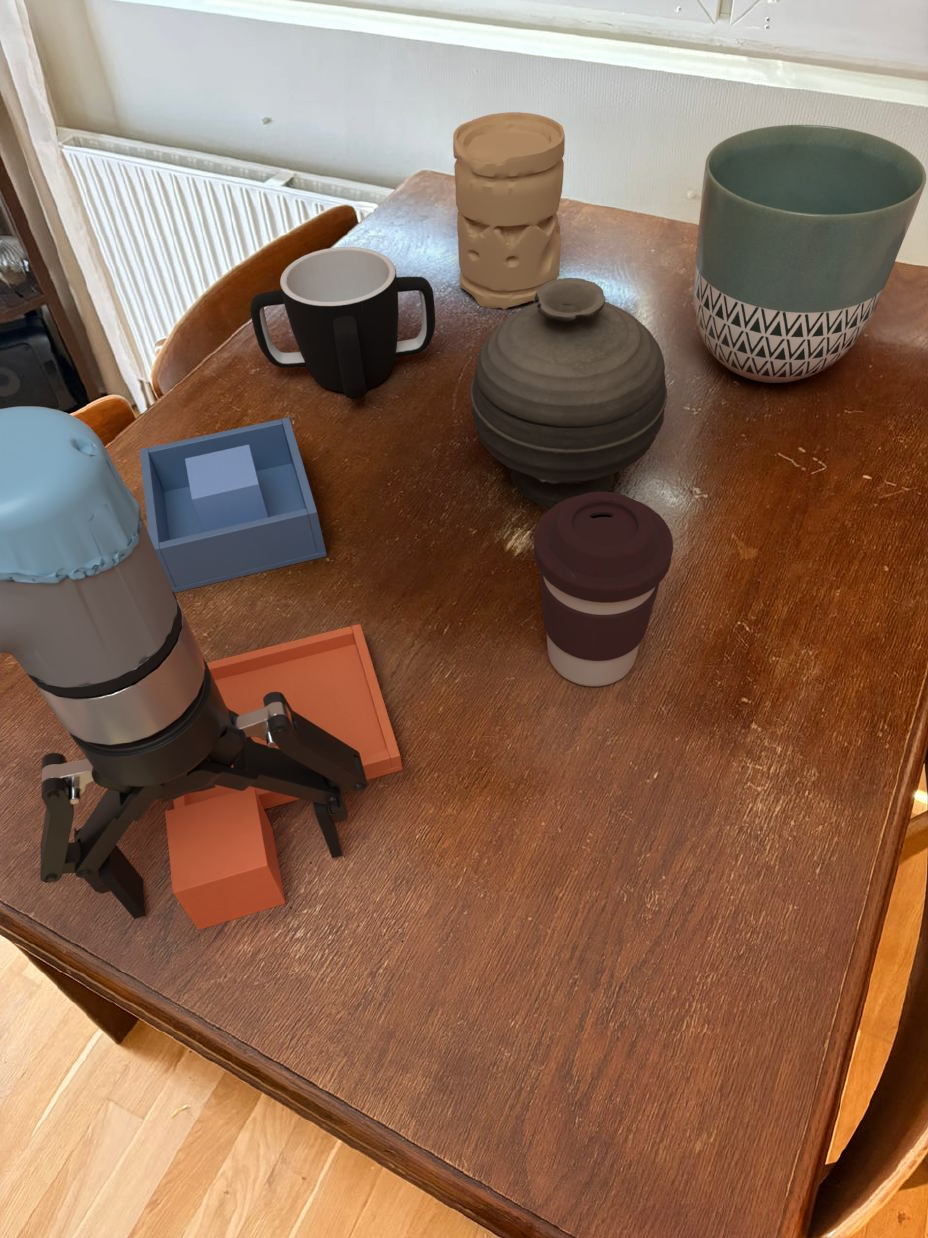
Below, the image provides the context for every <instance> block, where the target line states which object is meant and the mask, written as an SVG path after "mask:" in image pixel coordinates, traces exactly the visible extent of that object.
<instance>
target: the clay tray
mask: <svg viewBox="0 0 928 1238" xmlns="http://www.w3.org/2000/svg"><path fill="white" fill-rule="evenodd" d="M206 663H207V665H208V667H209V669H210V672H211V674H212V676H213V678H214V680H215V683H216V685H217V687H218V689H219V692H220V694H221V696H222V698H223V700H224V703H225V705H226V707H227V708H228V709H230V710H231V711H233V712H235V713H237V714H238V715H239V716H241V715H244V714H246V713H249V712H252V711H255V710H258V709H261V708H263V707H264V702H263V698H264V696H265V695H266V694H268V693H270V692H280V693H282V694H283V695H284V697H285V698H286V700H287V702H288V703H289V705H290V707H291V709H292V710H293V711H294V712H296V713H298V714H299V715H301V716H302V717H304V718H306V719H307V720H309V721H310V722H312V723H314V724H315V725H317V726H318V727H320V728H322V729H323V730H325V731H326V732H328V733H330V734H331V735H333V736H334V737H336V738H338V739H339V740H341V741H342V742H344V743H345V744H347V745H349V746H350V747H352V748H353V749H355V750H357V751H358V752H359V753H360V757H361V761H362V764H363V768H364V772H365V775H366V779H367V781H368V780H372V779H375V778H379V777H383V776H387V775H389V774H393V773H397V772H400V771H403V770H404V769H403V762H402V758H401V754H400V753H401V752H400V750H399V747H398V746H399V745H398V743H397V739H396V737H395V733H394V730H393V727H392V723H391V720H390V716H389V714H388V710H387V707H386V704H385V700H384V697H383V694H382V691H381V687H380V684H379V680H378V678H377V674H376V671H375V668H374V664H373V660H372V657H371V654H370V650H369V647H368V645H367V641H366V637H365V635H364V631H363V628H362V625H361V623H357V624H354V625H351V626H350V625H349V626H345V627H341V628H337V629H334V630H330V631H326V632H322V633H318V634H315V635H310V636H307V637H306V636H305V637H302V638H299V639H295V640H291V641H287V642H283V643H279V644H275V645H271V646H267V647H263V648H259V649H255V650H251V651H247V652H244V653H239V654H236V655H232V656H228V657H224V658H220V659H216V660H211V661H209V662H206ZM251 738H252V740H253V741H254V742H257V743H260V744H264V745H267V742H266V741H264V740H262V739H261V738H259V737H251ZM274 748H278V746H276V747H274ZM278 749H279V748H278ZM231 767H232V768H233V765H232V766H231ZM248 788H251V786H249V787H248ZM255 790H256V792H257V794H258V797H259V799H260V801H261V804H262V806H263V808H264V810H267V809H270V808H274V807H277V806H280V805H285V804H287V803H291V802H295V801H298V800H301V799H300V798H296V797H292V796H288V795H283V794H279V793H275V792H271V791H267V790H263V789H259V788H255ZM237 791H239V790H235V789H231V788H227V787H223V786H218V785H215V788H212V789H208V790H205V791H200V792H193V793H187V794H185V795H183V796H181V797H179V798H176V799H173V800H172V802H173V809H176V808H180V807H183V806H187V805H190V804H194V803H197V802H201V801H205V800H208V799H212V798H215V797H219V796H222V795H226V794H230V793H233V792H237Z"/></svg>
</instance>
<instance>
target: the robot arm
mask: <svg viewBox="0 0 928 1238" xmlns="http://www.w3.org/2000/svg"><path fill="white" fill-rule="evenodd" d="M184 612H185V611H184V610H183V608H182V605H181V604H180V601H179V599H177V596H176V593H174V592H173V590H172V588H171V586H170V584H169V581H168V579H167V577H166V574H165V572H164V569H163V567H162V565H161V562H160V560H159V558H158V555H157V553H156V551H155V548H154V546H153V543H152V541H151V539H150V536H149V534H148V528H147V527H146V525H145V522H144V520H143V517H142V509H141V507H140V505H139V503H138V500H137V499H136V498H135V496H134V493H133V491H132V490H131V489H130V488H129V487H128V486H127V484H125V482H124V479H123V478H122V476H121V474H120V473H119V470H118V469H117V467H116V464H115V463H114V462H113V460H112V457H111V456H110V454H109V453H108V451H107V448H106V447H105V444H104V443H103V441H102V440H101V439H100V436H98V434H97V433H96V432H95V431H94V430H93V429H92V427H90V426H89V425H88V424H87V423H86V422H84V421H83V420H81V419H79V418H77V417H76V416H74V415H72V414H69V413H68V412H64V411H62V410H59V409H54V408H50V407H46V406H44V407H43V406H31V405H30V406H29V405H27V406H25V405H23V406H12V407H11V406H10V407H6V408H5V407H4V408H0V654H1V655H2V654H10V655H11V656H12V657H13V659H14V660H16V662H17V663H18V664H19V665H20V666H21V668H22V669H23V670H24V672H25V673H26V675H27V676H28V677H29V679H30V680H31V681H32V682H33V684H34V685H35V687H36V688H37V690H38V691H39V693H40V694H41V696H42V697H43V699H44V700H45V702H46V703H47V705H48V706H49V707H50V709H51V710H52V712H53V714H54V715H55V717H56V718H57V719H58V721H59V722H60V724H61V725H62V726H63V727H64V729H65V730H66V731H68V734H69V735H70V737H71V738H72V739H73V741H74V743H75V744H76V745H77V746H78V748H79V749H80V751H81V753H83V755H84V757H85V758H84V759H83V758H82V759H78V760H77V759H76V760H74V761H68V759H66V756H65V755H64V754H62V753H59V752H50V753H47V754H45V755H43V756H42V758H41V779H40V780H41V782H40V783H41V784H40V785H41V790H40V791H41V792H40V793H41V795H40V796H41V799H42V801H43V803H44V805H45V806H46V807H45V812H44V819H43V825H42V832H41V839H40V858H39V859H40V861H39V862H40V865H39V866H40V869H39V875H40V876H39V878H40V879H39V880H40V881H41V882H42V883H45V884H52V883H56V882H59V881H60V880H61V879H62V878H63V875H64V874H74V876H75V877H76V878H78V879H84V881H85V882H86V883H87V884H88V885H89V886H90V888H92V889H93V891H94V893H95V892H96V893H99V894H101V895H103V894H106V893H109V892H110V893H111V894H112V895H113V896H114V897H115V898H116V899H117V900H118V901H119V903H120V904H121V905H122V906H123V908H124V909H125V910H126V911H127V912H128V913H129V914H130V915H131V917H132V918H133V919H134V920H136V919H139V918H142V917H145V916H147V913H146V897H145V887H144V886H145V885H144V879H143V877H142V876H141V874H140V873H139V872H138V870H137V869H136V868H135V867H134V865H133V864H132V863H131V861H130V860H129V859H128V858H127V856H126V855H125V854H124V852H123V851H122V850H121V849H120V847H119V846H118V843H119V842H120V840H121V839H122V838H123V836H124V835H125V833H126V832H127V830H128V829H129V828H130V826H131V825H132V823H134V822H139V821H140V820H141V819H142V817H143V816H144V815H145V813H146V812H147V811H148V809H149V808H150V806H151V805H152V803H153V802H154V801H161V802H162V803H166V802H170V801H173V799H176V798H179V797H181V796H183V795H185V794H187V793H193V792H200V791H205V790H208V789H212V788H215V785H218V786H223V787H227V788H231V789H235V790H239V791H244V790H246V789H247V788H248V787H249V786H251V787H255V788H259V789H263V790H267V791H271V792H275V793H279V794H283V795H288V796H292V797H296V798H300V799H299V800H305V801H308V802H312V806H313V810H314V814H315V817H316V820H317V822H318V824H319V827H320V830H321V833H322V835H323V838H324V841H325V843H326V846H327V848H328V851H329V854H330V857H331V859H332V860H333V859H335V858H336V859H337V858H339V857H342V856H344V854H343V849H342V846H341V842H340V841H341V840H340V836H339V833H338V828H337V824H338V823H340V822H344V821H345V822H346V821H347V820H348V817H349V811H348V809H347V803H346V799H345V794H346V793H347V792H348V791H350V792H352V793H359V792H363V791H364V790H365V789H367V788H368V785H369V784H368V783H369V782H368V780H367V779H366V775H365V772H364V768H363V764H362V761H361V757H360V753H359V752H358V751H357V750H355V749H353V748H352V747H350V746H349V745H347V744H345V743H344V742H342V741H341V740H339V739H338V738H336V737H334V736H333V735H331V734H330V733H328V732H326V731H325V730H323V729H322V728H320V727H318V726H317V725H315V724H314V723H312V722H310V721H309V720H307V719H306V718H304V717H302V716H301V715H299V714H298V713H296V712H294V711H293V710H292V709H291V707H290V705H289V703H288V702H287V700H286V698H285V697H284V695H283V694H282V693H280V692H270V693H268V694H266V695H265V696H264V698H263V702H264V707H263V708H261V709H258V710H255V711H252V712H249V713H246V714H244V715H241V716H239V715H238V714H237V713H235V712H233V711H231V710H230V709H228V708H227V707H226V705H225V703H224V700H223V698H222V696H221V694H220V692H219V689H218V687H217V685H216V683H215V680H214V678H213V676H212V674H211V672H210V669H209V667H208V665H207V663H208V662H206V659H205V658H204V655H203V651H202V650H201V649H202V648H201V647H200V645H199V643H198V641H197V638H196V637H195V634H194V631H193V630H192V628H191V625H190V623H189V621H188V619H187V616H186V614H185V613H184ZM251 737H259V738H261V739H262V740H264V741H266V742H267V745H264V744H260V743H257V742H254V741H253V740H252V738H251ZM276 746H278V748H279V749H278V748H274V747H276ZM232 765H233V768H232V767H231V766H232ZM93 782H94V783H95V784H97V786H99V787H101V788H104V789H106V791H105V792H104V794H103V795H102V797H101V799H100V800H99V801H98V803H97V804H96V805H95V807H94V808H93V810H92V812H91V813H90V814H89V817H88V818H87V819H86V821H85V822H84V823H83V825H82V827H81V828H80V827H79V829H78V828H77V827H74V829H73V841H74V842H73V841H72V842H71V841H70V838H71V832H72V827H73V822H74V816H75V815H74V814H75V807H74V806H75V805H78V804H79V803H80V802H81V796H82V795H84V793H86V790H87V786H88V785H89V784H91V783H93Z"/></svg>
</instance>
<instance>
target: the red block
mask: <svg viewBox="0 0 928 1238" xmlns="http://www.w3.org/2000/svg"><path fill="white" fill-rule="evenodd" d="M164 814H165V825H166V835H167V847H168V856H169V864H170V865H169V866H170V867H169V868H170V876H171V878H170V879H171V888H172V889H171V890H172V894H173V895H174V897H175V898H176V900H177V902H178V903H179V904H180V906H181V907H182V909H183V910H184V911H185V913H186V914H187V916H188V917H189V919H190V920H191V922H192V923H193V924H194V926H195V927H196V929H197V931H200V930H204V929H207V928H210V927H213V926H216V925H221V924H223V923H226V922H230V921H233V920H236V919H239V918H243V917H246V916H250V915H252V914H255V913H256V914H257V913H259V912H263V911H266V910H269V909H272V908H276V907H279V906H282V905H285V904H286V896H285V892H284V886H283V880H282V875H281V870H280V863H279V858H278V853H277V846H276V842H275V836H274V831H273V827H272V825H271V822H270V820H269V818H268V815H267V813H266V810H265V809H264V808H263V806H262V804H261V801H260V799H259V797H258V794H257V792H256V790H255V787H251V788H247V789H246V790H244V791H237V792H233V793H230V794H226V795H222V796H219V797H215V798H212V799H208V800H205V801H201V802H197V803H194V804H190V805H187V806H183V807H180V808H176V809H174V808H172V809H169V810H165V812H164Z"/></svg>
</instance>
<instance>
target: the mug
mask: <svg viewBox="0 0 928 1238" xmlns="http://www.w3.org/2000/svg"><path fill="white" fill-rule="evenodd" d="M279 285H280V289H275V290H269V291H264V292H260V293H257V294H255V295H254V296H253V297H252V299H251V302H250V307H249V313H250V318H251V322H252V327H253V330H254V334H255V335H254V336H255V337H256V341H257V344H258V346H259V348H260V350H261V352H262V354H263V355H264V357H266V359H267V360H268V362H270V363H271V364H273V365H274V366H275V367H278V368H281V369H291V368H292V369H293V368H307V369H308V371H309V373H310V374H311V376H312V377H313V379H314V380H315V382H316V383H318V385H320V386H321V387H323V388H324V389H327V390H330V391H334V392H338V393H344V396H345V397H346V398H348V399H350V400H351V399H352V400H355V399H356V400H357V399H361V398H364V396H366V394H367V390H370V389H372V388H374V387H376V386H379V385H381V384H382V383H383V382H384V381H385V380H387V379H388V377H389V376H390V375H391V373H392V370H393V368H394V364H395V360H396V358H399V357H406V356H412V355H417V354H420V353H422V352H424V351H425V350H426V349H427V348H428V347H429V345H430V343H431V342H432V339H433V336H434V334H435V330H436V329H435V328H436V307H435V306H436V305H435V295H434V289H433V287H432V285H431V284H430V282H429V281H428V279H426V278H425V277H423V276H397V269H396V266H395V264H394V262H393V261H392V260H391V259H390V258H389V257H388V256H386V255H385V254H383V253H381V252H378V251H375V250H372V249H369V248H366V247H365V248H364V247H358V246H338V247H337V246H336V247H329V248H324V249H320V250H316V251H312V252H310V253H307V254H305V255H303V256H301V257H299V258H298V259H296V260H294V261H292V262H291V263H290V264H289V265H288V266H287V267H286V268H285V269H284V271H283V272H282V273H281V276H280V280H279ZM414 291H415V292H418V293H419V299H420V309H421V310H420V311H421V329H420V331H419V333H418V335H417V336H416V337H415V338H411V339H406V340H398V334H399V293H404V292H405V293H406V292H414ZM280 305H281V306H282V305H284V309H285V311H286V316H287V319H288V322H289V325H290V329H291V331H292V333H293V337H294V339H295V341H296V344H297V347H298V349H299V351H295V352H282V351H280V350H279V349H278V348H277V347H276V345H275V344H274V343H273V340H272V338H271V334H270V331H269V330H270V329H269V327H268V323H267V317H266V313H265V308H266V307H267V308H268V307H271V306H280Z"/></svg>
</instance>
